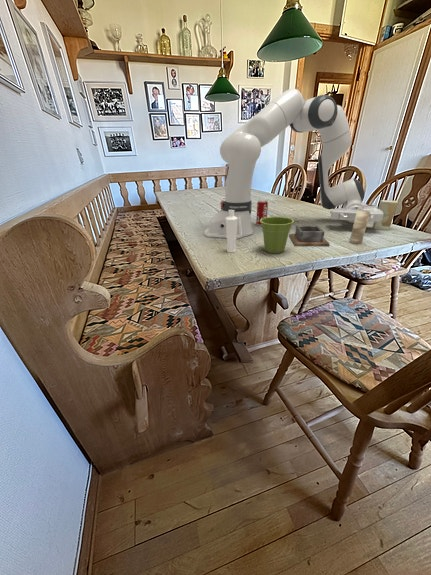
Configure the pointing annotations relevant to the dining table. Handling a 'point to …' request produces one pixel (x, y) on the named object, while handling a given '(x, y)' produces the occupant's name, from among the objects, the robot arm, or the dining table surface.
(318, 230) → the bottle holder
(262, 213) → the soda can
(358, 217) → the birch peg
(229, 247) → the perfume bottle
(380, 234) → the dining table surface
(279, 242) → the plant pot
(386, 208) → the skincare box
